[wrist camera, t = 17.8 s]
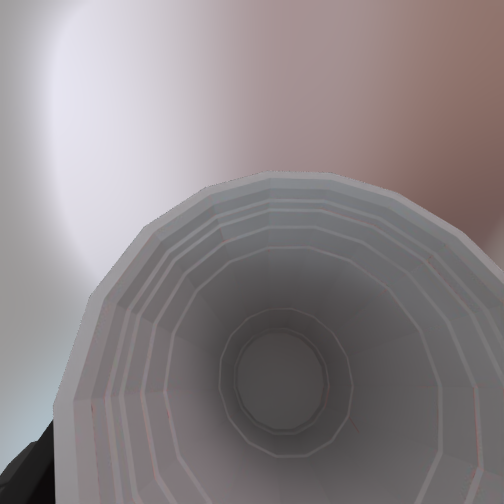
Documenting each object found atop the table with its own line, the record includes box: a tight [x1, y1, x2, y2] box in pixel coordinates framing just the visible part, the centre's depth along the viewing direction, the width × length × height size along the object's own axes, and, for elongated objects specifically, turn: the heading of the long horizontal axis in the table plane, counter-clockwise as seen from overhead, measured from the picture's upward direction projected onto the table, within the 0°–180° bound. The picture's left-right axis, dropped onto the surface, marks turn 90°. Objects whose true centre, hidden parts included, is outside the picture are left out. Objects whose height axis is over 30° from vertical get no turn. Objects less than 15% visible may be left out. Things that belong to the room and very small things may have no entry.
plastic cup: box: [53, 171, 504, 504], centre depth 10 cm, size 11×11×12 cm
